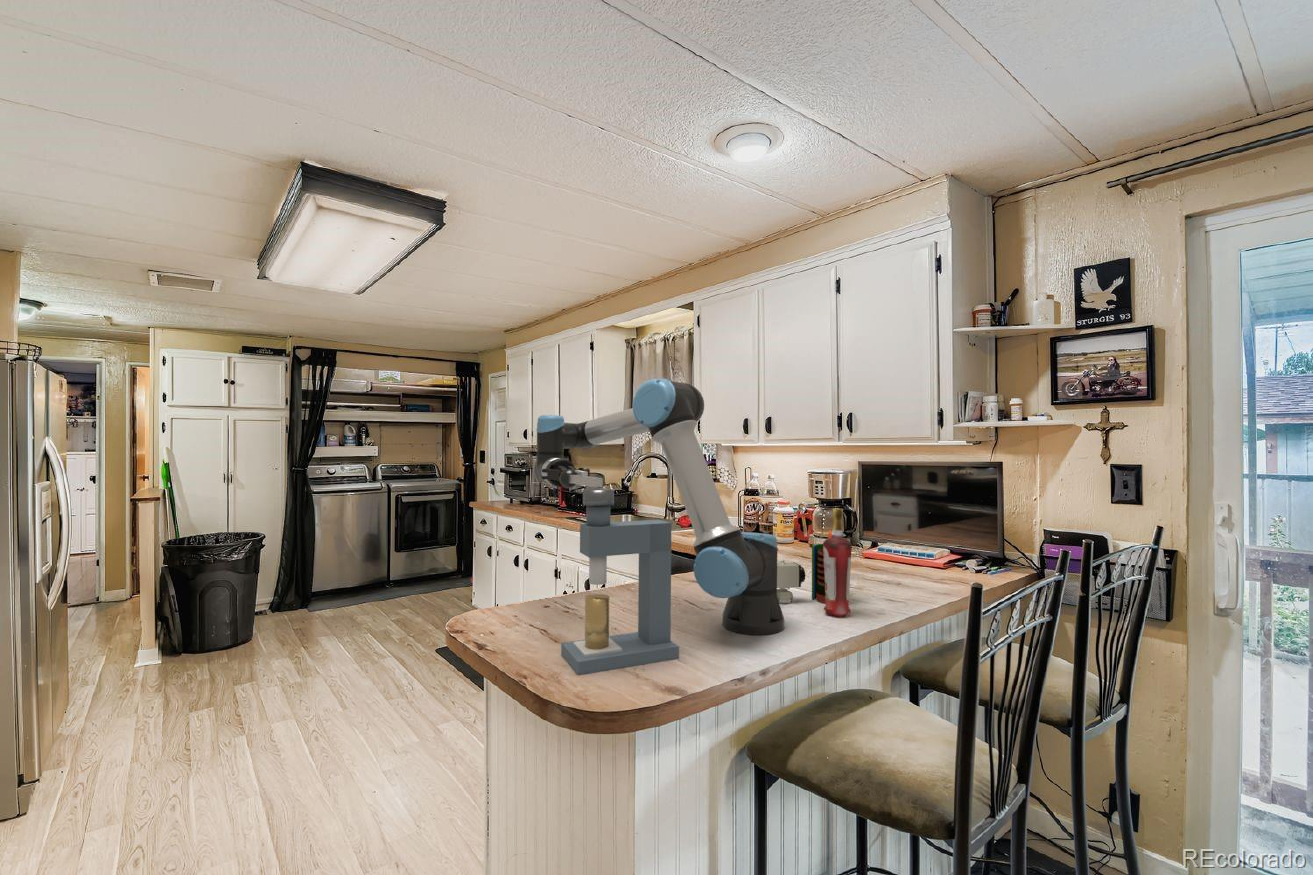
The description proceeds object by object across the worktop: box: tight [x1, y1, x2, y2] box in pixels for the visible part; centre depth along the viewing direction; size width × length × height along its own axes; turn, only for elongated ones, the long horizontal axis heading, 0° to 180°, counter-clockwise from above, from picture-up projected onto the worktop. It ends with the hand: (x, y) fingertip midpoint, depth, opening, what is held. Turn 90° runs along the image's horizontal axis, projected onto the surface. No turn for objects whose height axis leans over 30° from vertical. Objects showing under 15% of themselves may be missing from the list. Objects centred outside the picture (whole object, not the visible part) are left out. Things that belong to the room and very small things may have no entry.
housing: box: [584, 593, 610, 650], centre depth 121 cm, size 5×5×10 cm
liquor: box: [822, 508, 853, 618], centre depth 155 cm, size 7×7×28 cm
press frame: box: [560, 505, 680, 676], centre depth 123 cm, size 22×12×32 cm, turn 115°
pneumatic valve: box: [777, 559, 806, 605], centre depth 167 cm, size 6×12×12 cm, turn 100°
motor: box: [811, 529, 832, 605], centre depth 169 cm, size 10×9×20 cm
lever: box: [560, 469, 615, 506], centre depth 128 cm, size 6×21×7 cm, turn 31°
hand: (584, 477), depth 135 cm, fingers closed
